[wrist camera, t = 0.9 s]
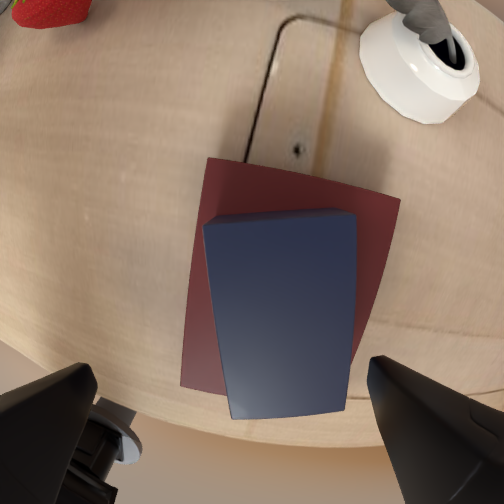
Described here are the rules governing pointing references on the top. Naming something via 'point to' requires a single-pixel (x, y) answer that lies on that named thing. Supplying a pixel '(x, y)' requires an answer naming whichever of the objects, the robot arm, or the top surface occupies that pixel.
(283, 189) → the burgundy book
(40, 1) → the strawberry
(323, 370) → the navy book
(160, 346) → the top surface
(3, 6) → the planter
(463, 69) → the inkwell
